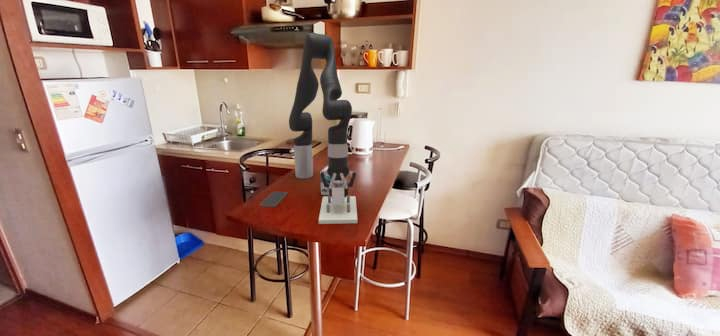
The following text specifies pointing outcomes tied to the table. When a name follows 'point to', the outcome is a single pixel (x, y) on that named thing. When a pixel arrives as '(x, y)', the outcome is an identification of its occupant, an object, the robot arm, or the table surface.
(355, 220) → the peg board
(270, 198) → the smartphone
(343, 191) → the plate
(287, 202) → the table surface
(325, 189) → the light bulb box
